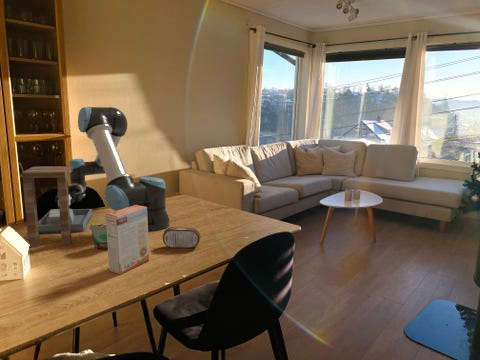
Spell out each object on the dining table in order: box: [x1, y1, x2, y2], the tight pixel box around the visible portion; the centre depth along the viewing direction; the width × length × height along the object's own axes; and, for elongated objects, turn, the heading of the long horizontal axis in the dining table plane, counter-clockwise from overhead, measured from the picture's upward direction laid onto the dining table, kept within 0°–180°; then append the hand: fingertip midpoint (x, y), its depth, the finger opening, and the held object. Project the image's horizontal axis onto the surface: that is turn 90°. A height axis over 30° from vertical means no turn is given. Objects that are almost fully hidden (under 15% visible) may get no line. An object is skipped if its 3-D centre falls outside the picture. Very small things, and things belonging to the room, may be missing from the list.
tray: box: [38, 208, 93, 234], centre depth 169 cm, size 24×20×4 cm
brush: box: [49, 195, 74, 224], centre depth 166 cm, size 16×9×5 cm
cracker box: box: [105, 205, 150, 276], centre depth 126 cm, size 14×6×21 cm, turn 150°
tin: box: [162, 226, 201, 249], centre depth 145 cm, size 15×3×8 cm, turn 92°
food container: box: [89, 222, 108, 251], centre depth 142 cm, size 12×6×10 cm, turn 117°
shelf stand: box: [21, 165, 73, 248], centre depth 146 cm, size 14×15×30 cm
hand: (63, 203), depth 166 cm, fingers closed on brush, 3 cm apart
